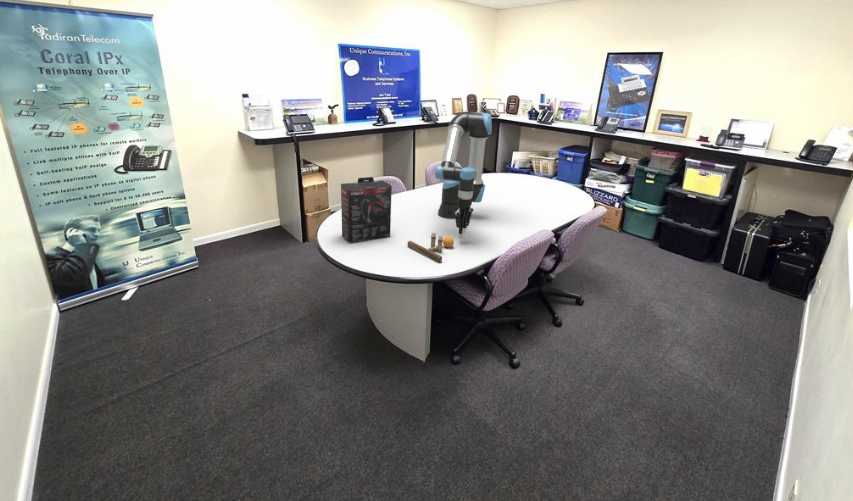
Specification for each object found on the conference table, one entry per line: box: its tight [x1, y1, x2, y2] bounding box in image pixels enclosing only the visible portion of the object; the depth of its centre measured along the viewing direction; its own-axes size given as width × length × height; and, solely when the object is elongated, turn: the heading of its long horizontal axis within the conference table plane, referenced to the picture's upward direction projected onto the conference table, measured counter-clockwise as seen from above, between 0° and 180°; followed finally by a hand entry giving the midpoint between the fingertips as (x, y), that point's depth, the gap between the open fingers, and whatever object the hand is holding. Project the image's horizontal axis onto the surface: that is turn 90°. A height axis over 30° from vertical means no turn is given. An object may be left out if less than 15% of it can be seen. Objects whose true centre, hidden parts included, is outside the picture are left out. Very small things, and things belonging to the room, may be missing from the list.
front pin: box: [427, 244, 444, 253], centre depth 216 cm, size 2×2×8 cm
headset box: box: [340, 176, 393, 244], centre depth 222 cm, size 25×12×33 cm, turn 120°
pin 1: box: [430, 232, 437, 248], centre depth 217 cm, size 2×2×8 cm
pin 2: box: [436, 235, 444, 254], centre depth 213 cm, size 2×2×8 cm
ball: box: [442, 235, 455, 248], centre depth 220 cm, size 6×6×6 cm
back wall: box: [407, 240, 443, 264], centre depth 211 cm, size 2×24×3 cm, turn 42°
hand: (461, 238), depth 228 cm, fingers closed
